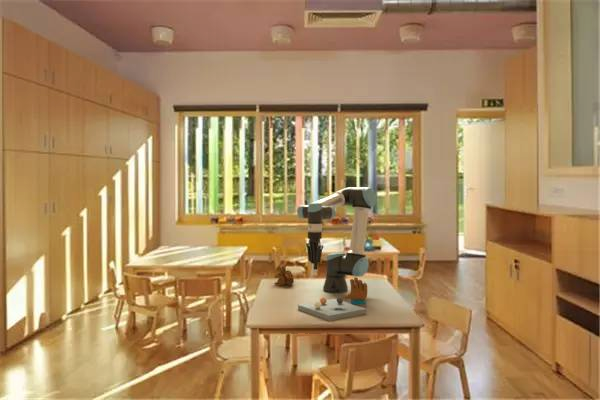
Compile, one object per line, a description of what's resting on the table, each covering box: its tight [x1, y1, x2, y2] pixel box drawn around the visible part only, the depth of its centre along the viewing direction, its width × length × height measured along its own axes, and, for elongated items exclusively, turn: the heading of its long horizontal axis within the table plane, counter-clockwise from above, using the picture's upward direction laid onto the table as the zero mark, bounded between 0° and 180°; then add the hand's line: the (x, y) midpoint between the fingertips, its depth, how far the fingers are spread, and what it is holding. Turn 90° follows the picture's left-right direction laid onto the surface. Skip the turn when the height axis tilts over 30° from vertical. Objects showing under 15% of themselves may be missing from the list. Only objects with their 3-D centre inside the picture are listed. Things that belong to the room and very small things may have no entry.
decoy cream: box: [315, 301, 321, 309], centre depth 253 cm, size 4×4×4 cm
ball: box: [319, 296, 328, 304], centre depth 262 cm, size 4×4×4 cm
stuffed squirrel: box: [273, 263, 295, 286], centre depth 325 cm, size 10×14×13 cm
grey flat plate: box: [297, 298, 367, 322], centre depth 257 cm, size 26×24×2 cm
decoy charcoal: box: [336, 296, 344, 304], centre depth 264 cm, size 4×4×4 cm
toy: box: [344, 276, 368, 305], centre depth 274 cm, size 12×7×15 cm, turn 71°
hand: (314, 275), depth 268 cm, fingers closed
